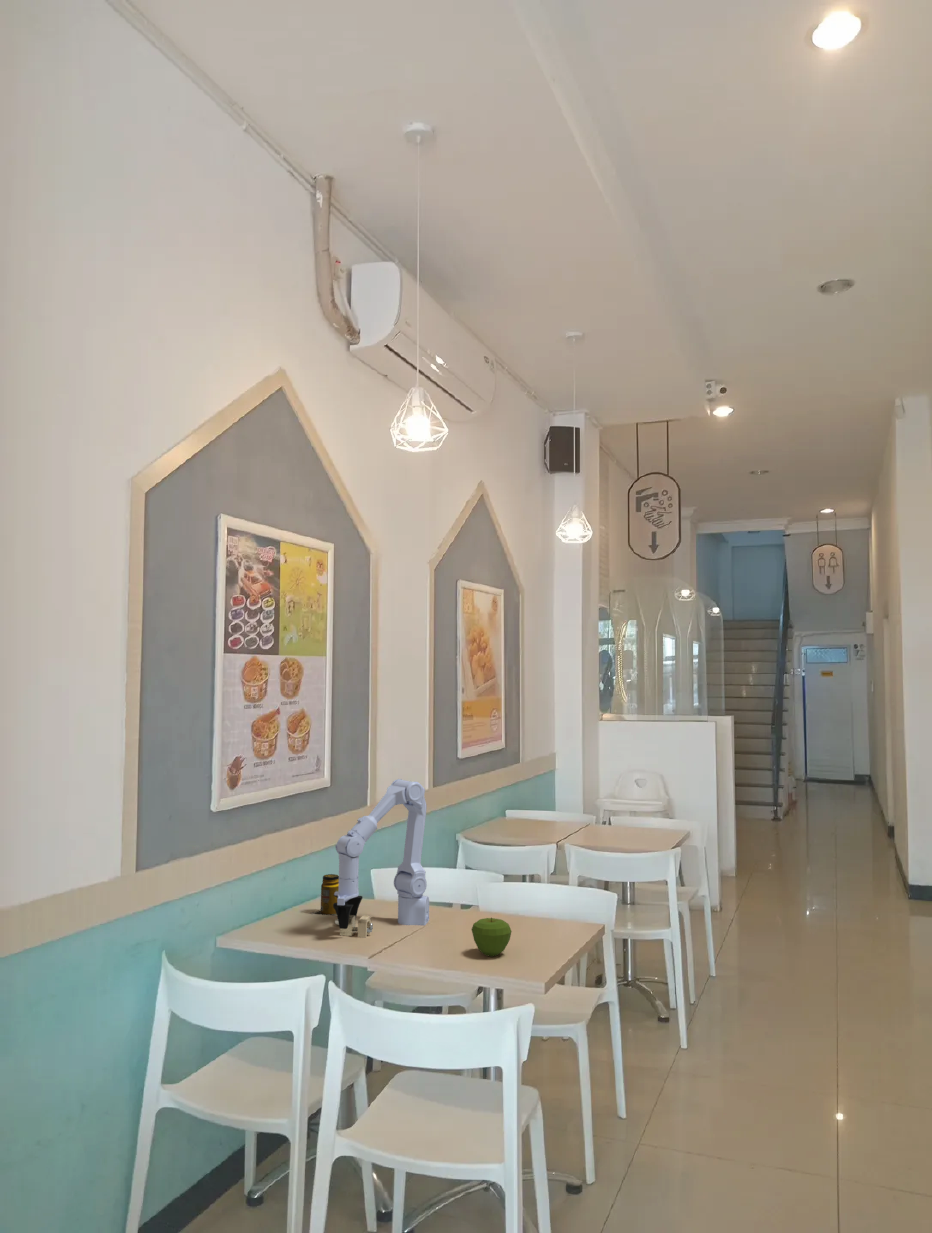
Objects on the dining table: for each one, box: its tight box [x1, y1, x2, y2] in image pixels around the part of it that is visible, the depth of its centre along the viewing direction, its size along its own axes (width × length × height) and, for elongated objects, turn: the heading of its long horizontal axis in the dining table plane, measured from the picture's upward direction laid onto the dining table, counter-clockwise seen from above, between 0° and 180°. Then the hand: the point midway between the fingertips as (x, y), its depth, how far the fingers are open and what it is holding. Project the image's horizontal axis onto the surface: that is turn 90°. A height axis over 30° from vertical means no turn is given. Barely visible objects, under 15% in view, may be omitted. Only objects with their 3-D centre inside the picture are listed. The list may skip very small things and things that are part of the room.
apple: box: [471, 917, 513, 957], centre depth 247 cm, size 11×10×10 cm
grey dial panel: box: [357, 915, 372, 939], centre depth 267 cm, size 15×15×6 cm
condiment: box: [311, 873, 339, 916], centre depth 289 cm, size 7×8×12 cm
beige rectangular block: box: [339, 915, 374, 937], centre depth 262 cm, size 9×4×5 cm, turn 80°
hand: (347, 924), depth 262 cm, fingers open, 7 cm apart
